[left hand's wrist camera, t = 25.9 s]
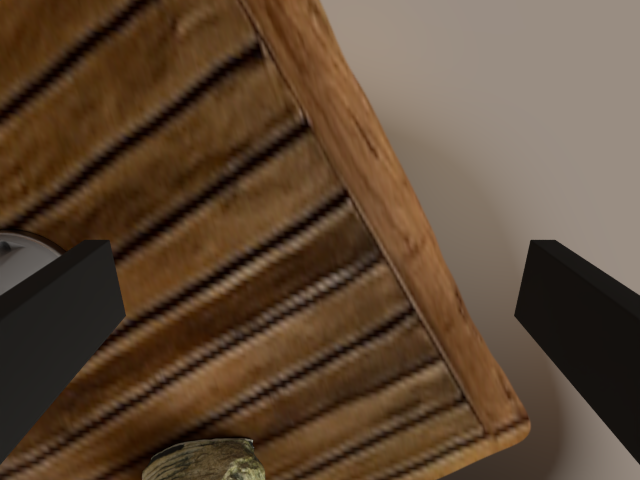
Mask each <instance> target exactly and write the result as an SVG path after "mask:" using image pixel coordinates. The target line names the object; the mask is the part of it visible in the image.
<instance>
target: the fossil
mask: <svg viewBox="0 0 640 480" xmlns="http://www.w3.org/2000/svg"><path fill="white" fill-rule="evenodd" d="M252 444H253V440H250V439H244V438H239V439H233V438H224V439H213V440H197V441H190V442H184V443H179V444H176V445H173V446H171V447H169V448H167V449H165V450H164V451H162V452H160V453H157V454H156V455H155V456H153V457H152V458H151V461H150V463H149V465H148V466H147V467H146V468H145V469H144V470H143V473H142V480H265V470H264V468H263V465H262V464H261V463H260V461H259V460H258V459H257V457H256V456H255V455H254V447H253V445H252Z"/></svg>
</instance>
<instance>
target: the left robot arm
mask: <svg viewBox="0 0 640 480" xmlns="http://www.w3.org/2000/svg"><path fill="white" fill-rule="evenodd" d="M125 316H126V314H125V310H124V305H123V300H122V296H121V291H120V287H119V282H118V277H117V273H116V268H115V264H114V259H113V254H112V250H111V245H110V241H109V240H84V241H82V242H81V243H79V244H78V245H76V246H75V247H73V248H72V249H70V250H69V251H67V252H66V251H65V250H63V249H62V248H61V247H59V246H58V245H56V244H55V243H53V242H51V241H50V240H48V239H46V238H43V237H41V236H39V235H36V234H33V233H30V232H26V231H20V230H0V464H1V463H2V462H3V461H4V460H5V458H6V457H7V456H8V455H9V454H10V453H11V451H12V450H13V449H14V448H15V447H16V445H17V444H18V443H19V442H20V441H21V439H22V438H23V437H24V436H25V435H26V434H27V432H28V431H29V430H30V429H31V428H32V426H33V425H34V424H35V423H36V422H37V420H38V419H39V418H40V417H41V416H42V415H43V413H44V412H45V411H46V410H47V409H48V407H49V406H50V405H51V404H52V403H53V402H54V400H55V399H56V398H57V397H58V396H59V394H60V393H61V392H62V391H63V390H64V388H65V387H66V386H67V385H68V384H69V383H70V381H71V380H72V379H73V378H74V377H75V375H76V374H77V373H78V372H79V371H80V369H81V368H82V367H83V366H84V365H85V364H86V362H87V361H88V360H89V359H90V358H91V356H92V355H93V354H94V353H95V352H96V351H97V349H98V348H99V347H100V346H101V345H102V343H103V342H104V341H105V340H106V339H107V337H108V336H109V335H110V334H111V333H112V332H113V330H114V329H115V328H116V327H117V326H118V324H119V323H120V322H121V321H122V320H123V318H124V317H125ZM514 316H515V317H516V318H517V320H518V321H519V322H520V323H521V324H522V326H523V327H524V328H525V329H526V330H527V332H528V333H529V334H530V335H531V336H532V337H533V339H534V340H535V341H536V342H537V343H538V345H539V346H540V347H541V348H542V349H543V351H544V352H545V353H546V354H547V355H548V356H549V358H550V359H551V360H552V361H553V362H554V364H555V365H556V366H557V367H558V368H559V369H560V371H561V372H562V373H563V374H564V375H565V377H566V378H567V379H568V380H569V381H570V383H571V384H572V385H573V386H574V387H575V388H576V390H577V391H578V392H579V393H580V394H581V396H582V397H583V398H584V399H585V400H586V401H587V403H588V404H589V405H590V406H591V407H592V409H593V410H594V411H595V412H596V413H597V415H598V416H599V417H600V418H601V419H602V420H603V422H604V423H605V424H606V425H607V426H608V428H609V429H610V430H611V431H612V432H613V434H614V435H615V436H616V437H617V438H618V439H619V441H620V442H621V443H622V444H623V445H624V446H625V448H626V449H627V450H628V451H629V453H630V454H631V455H632V456H633V457H634V458H635V460H636V461H637V462H638V463H639V464H640V295H638V294H637V293H635V292H634V291H632V290H631V289H629V288H627V287H626V286H625V285H623V284H621V283H620V282H618V281H617V280H615V279H614V278H612V277H611V276H609V275H608V274H606V273H605V272H603V271H602V270H600V269H599V268H597V267H596V266H594V265H593V264H591V263H590V262H588V261H586V260H585V259H583V258H582V257H580V256H579V255H577V254H576V253H574V252H573V251H571V250H570V249H568V248H567V247H565V246H564V245H562V244H561V243H559V242H558V241H556V240H531V241H530V245H529V250H528V254H527V259H526V264H525V268H524V273H523V277H522V282H521V287H520V291H519V296H518V300H517V305H516V310H515V314H514Z"/></svg>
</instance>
